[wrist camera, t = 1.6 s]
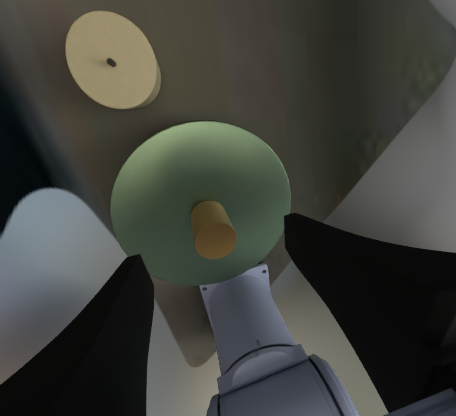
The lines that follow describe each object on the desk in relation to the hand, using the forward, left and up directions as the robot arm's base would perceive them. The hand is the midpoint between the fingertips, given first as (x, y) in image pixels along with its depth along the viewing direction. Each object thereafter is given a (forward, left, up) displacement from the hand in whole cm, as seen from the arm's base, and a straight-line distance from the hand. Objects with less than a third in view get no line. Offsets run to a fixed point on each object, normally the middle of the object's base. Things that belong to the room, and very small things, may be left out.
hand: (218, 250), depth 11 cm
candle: (+9, +3, -10) cm, 14 cm away
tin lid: (0, 0, -5) cm, 5 cm away
